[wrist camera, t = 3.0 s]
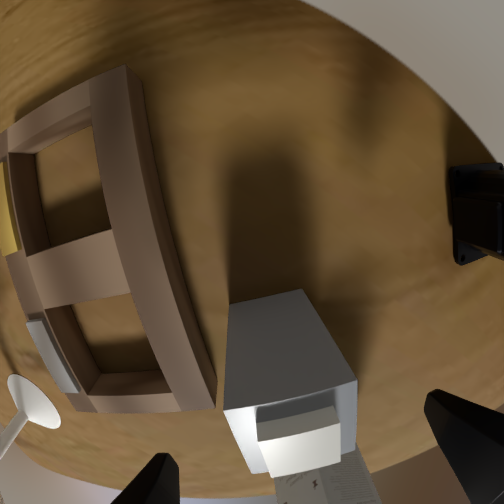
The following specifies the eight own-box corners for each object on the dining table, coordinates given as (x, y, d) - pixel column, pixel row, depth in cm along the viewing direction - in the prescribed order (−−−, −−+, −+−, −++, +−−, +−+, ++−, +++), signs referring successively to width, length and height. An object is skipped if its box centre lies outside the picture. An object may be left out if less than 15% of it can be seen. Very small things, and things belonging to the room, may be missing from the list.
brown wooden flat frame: (141, 80, 12) (122, 60, 9) (217, 381, 16) (215, 412, 13) (13, 145, 12) (-16, 142, 9) (89, 390, 16) (74, 414, 13)
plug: (302, 288, 15) (367, 396, 6) (311, 348, 16) (361, 464, 7) (229, 304, 15) (222, 429, 6) (245, 363, 16) (253, 489, 7)
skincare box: (303, 418, 17) (343, 564, 5) (352, 424, 18) (405, 546, 6) (268, 461, 18) (283, 583, 7) (313, 465, 19) (342, 574, 7)
